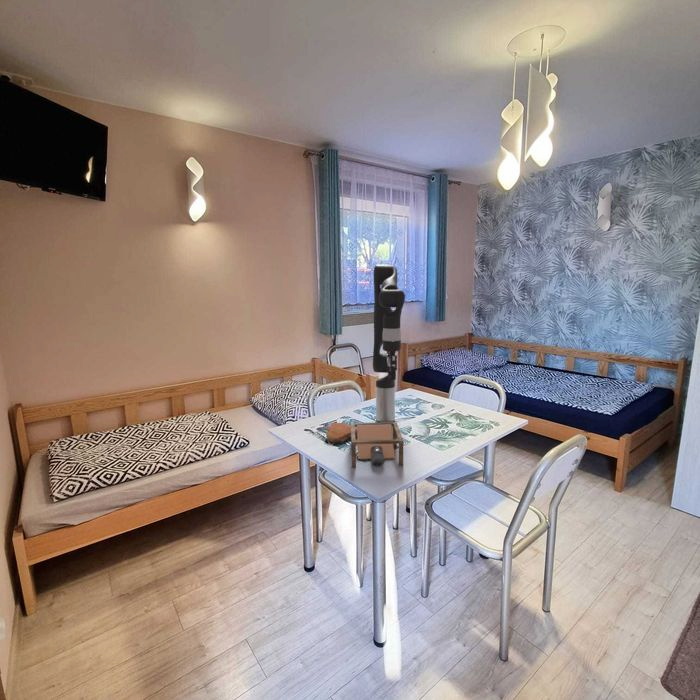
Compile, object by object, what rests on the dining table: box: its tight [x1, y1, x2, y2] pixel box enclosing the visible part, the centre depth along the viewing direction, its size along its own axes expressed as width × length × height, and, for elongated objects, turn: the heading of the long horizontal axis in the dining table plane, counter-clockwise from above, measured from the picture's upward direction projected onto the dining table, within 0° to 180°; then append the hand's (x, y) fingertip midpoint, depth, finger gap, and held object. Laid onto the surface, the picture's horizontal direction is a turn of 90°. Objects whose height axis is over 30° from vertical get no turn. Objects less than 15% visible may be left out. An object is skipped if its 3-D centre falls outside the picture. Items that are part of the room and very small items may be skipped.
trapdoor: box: [356, 424, 396, 460], centre depth 152 cm, size 14×14×1 cm
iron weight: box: [370, 445, 385, 467], centre depth 144 cm, size 5×5×6 cm
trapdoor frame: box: [350, 421, 404, 468], centre depth 151 cm, size 19×19×10 cm
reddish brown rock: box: [326, 422, 357, 444], centre depth 171 cm, size 15×6×15 cm
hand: (391, 377), depth 160 cm, fingers open, 8 cm apart
